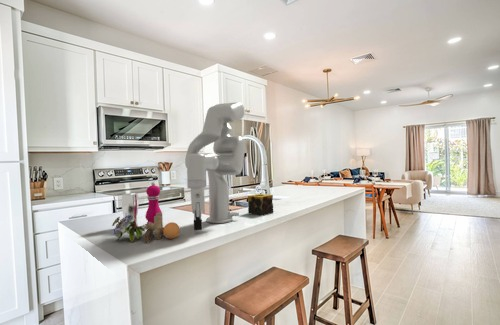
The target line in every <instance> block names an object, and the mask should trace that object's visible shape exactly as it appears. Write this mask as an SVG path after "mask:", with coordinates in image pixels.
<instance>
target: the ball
mask: <svg viewBox="0 0 500 325" xmlns="http://www.w3.org/2000/svg"><path fill="white" fill-rule="evenodd" d="M163 227H164V229H163V233H164V237H165V238H166V239H168V240H170V239H171V240H172V239H175V238H177V237H178V236H179V234H180V231H181V229H180V226H179V225H178V223H176V222H168V223H167V224H165V225H164V226H163Z"/></svg>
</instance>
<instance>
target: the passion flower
mask: <svg viewBox="0 0 500 325" xmlns="http://www.w3.org/2000/svg"><path fill="white" fill-rule="evenodd" d="M133 216H134V212H133V213H132V214H131V215H128V216H126V217H125V218H124V217H122V218H121V217H120V216H118V217H116V218H115V220H114V221H113V222H112V225H111V226H112V227H113V226H115V227H114V229H113V234H114V236H115V237H116V238H115V241H116V242H118V241H119V240H120V239H121V237H123V234H124V233H126V234H128V239H129V241H130V242H131V243H135V238H137V240H139V239H140V238H141V237H142V236H143V232H146V231H147V229H148V228H147V223H145V224H143V225H141V226H140V225H139V226H138V227H135V218H133ZM132 218H133V219H132ZM115 224H116V225H115ZM131 226H133V227H132V228H130V227H131ZM144 226H145V228H143V227H144ZM145 230H146V231H145ZM135 233H136V234H135ZM135 236H136V237H135Z"/></svg>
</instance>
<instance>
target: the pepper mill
mask: <svg viewBox="0 0 500 325" xmlns="http://www.w3.org/2000/svg"><path fill="white" fill-rule="evenodd" d="M160 193H161V189H160V186H158V185H156V182H154V181H152V182H151V183H150V185H149V186H147V188H146V194H147V200H148V208H147V209H146V212H145V220H146V224H147V225H148V223H149V222H151V223H154V216H156V213H162V214H163V212H162V210H161V208H160V204H159V200H160Z"/></svg>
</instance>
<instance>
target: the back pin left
mask: <svg viewBox="0 0 500 325" xmlns="http://www.w3.org/2000/svg"><path fill="white" fill-rule="evenodd" d="M153 234H154V240H159V241H160V240H161V239H162V235H161V216H154V233H153Z"/></svg>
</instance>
